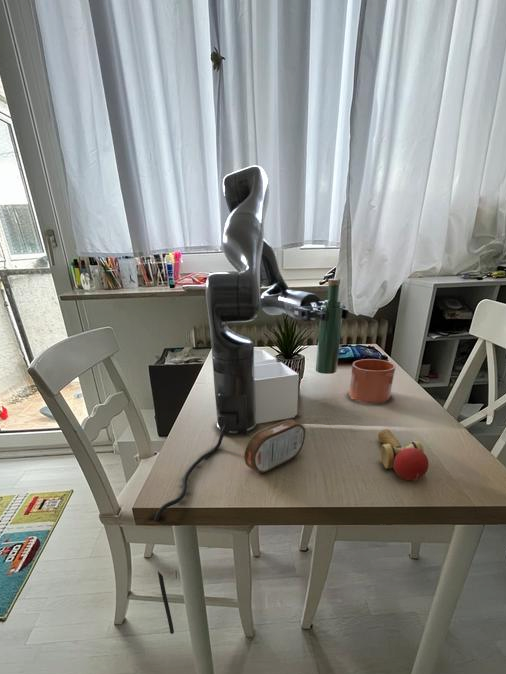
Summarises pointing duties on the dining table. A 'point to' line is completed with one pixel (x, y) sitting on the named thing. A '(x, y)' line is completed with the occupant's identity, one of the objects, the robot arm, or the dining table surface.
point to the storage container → (274, 389)
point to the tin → (274, 445)
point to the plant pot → (371, 380)
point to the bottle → (330, 331)
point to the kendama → (403, 457)
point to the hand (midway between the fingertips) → (336, 315)
